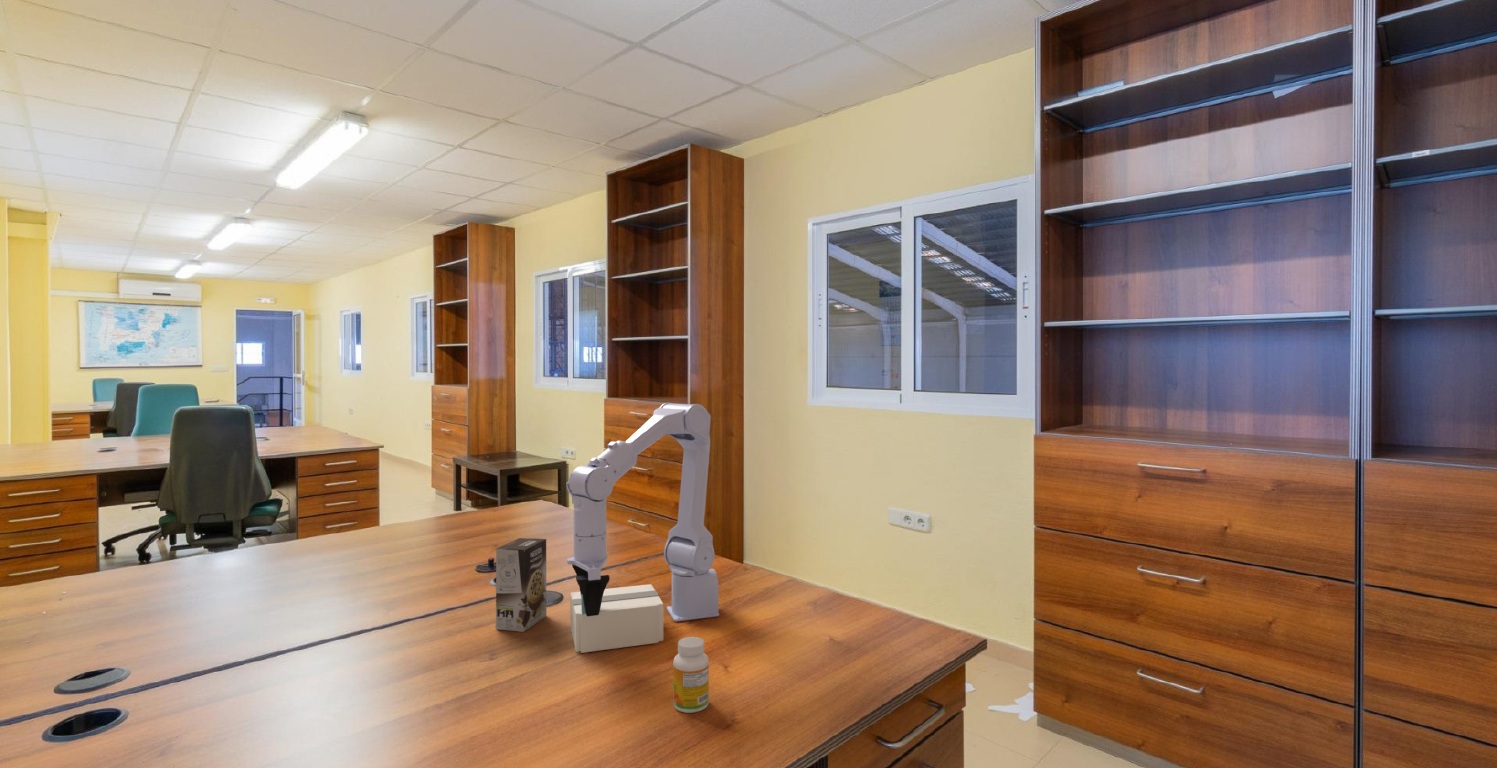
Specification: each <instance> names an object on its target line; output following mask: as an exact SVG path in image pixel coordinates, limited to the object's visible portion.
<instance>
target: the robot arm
mask: <svg viewBox="0 0 1497 768" xmlns="http://www.w3.org/2000/svg"><path fill="white" fill-rule="evenodd" d="M652 414H653V415H652V416H651V417H650V418H649V419H648V420H647V421H646V422H644V424H642V426H640V427H639V428H638V429H637V430H636V431H635V432H634V433H633V434H632V435H631V436H630V437H629V438H628V439H627V440H625V441H624V440H623V441H622V440H616V441H610V442H609V443H607V448H606V449H605V450H603V452H601V453H600V454H599V455H597V456H596V457H592V458H591V459H590V460H589V462H588V463H587V465H579V466H577V467H576V468H575V469H574V470H572V472H571V473H570V474H569V478H568V481H567V482H566V483H565V485H566V490H567V492H568V493H569V494H570V496H571V503H572V505H573V556H572V557H567V558H566V563H567V565H571V566H572V568H573V570H574V572H575V574H576V576H575V580H576V581H575V582H576V583H577V585H578V587H579V592H580V593H581V594H582V595H583V601H584V608H585V612H586V615H587V616H595V615H599V612H600V607H601V602H602V597H603V593H604V590H605V589H607V585H608V584H609V581H610V579H611V578H610V575H609V574H605V575H603V574H602V575H601V570H602V568H603V567H604V566H605V565H606V563H608V555H607V498H608V497H610V496H611V494H612V491H613V489H614V485H615V484H616V483H617V481H619V479H620V478H622V477H623V476H624V475H626V473H628V472H629V471H630V470H631V469H632V468H633V467H635V466H636V464H637V462H638V455H640V454H641V453H642V452H643V451H645V450H647V448H649V447H651V446H652V445H653V444H655V443H656V442H657V441H658V440H660V439H661V438H663V437H664V436H666V435H668V436H669V437H671V438H673V439H674V440H676V442H677V443H678V444H679V445H680V446H681V447H682V448H683V457H682V468H681V477H680V478H681V479H680V480H681V481H680V490H679V491H680V492H679V502H678V514H677V523H676V525H675V526H673V527H672V528H670V530H669V531H668V535H667V540H666V543H665V545H664V547H663V558H664V561H665V562H666V564H667V565H668V566H669V567H668V568H669V571H671V605H668V606H666V610H667V612H668V614H670V617H671V618H672V620H673V621H674V622H682V621H683V622H684V621H690V620H692V621H693V620H699V619H706V618H707V619H708V618H714V617H719V616H720V613H719V580H718V574H717V572H716V569H715V568H712V566H713V564H714V562H715V549H714V545H713V539H714V536H713V535H712V534H711V532H710V531H709V530H708V529H707V527H706V526H705V513H706V499H707V489H708V488H707V487H708V476H709V465H710V450H711V436H710V435H711V434H710V431H711V418H712V416H711V414H710V413H709V412H708V410H707V409H706V407H704V405H702V404H699V403H691V404H689V403H674V402H665V403H663V404H661V405H660V406H659V407H657V408H656V409H654V410H653V413H652Z"/></svg>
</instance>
